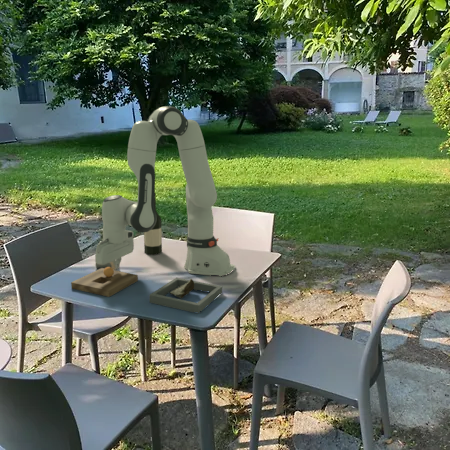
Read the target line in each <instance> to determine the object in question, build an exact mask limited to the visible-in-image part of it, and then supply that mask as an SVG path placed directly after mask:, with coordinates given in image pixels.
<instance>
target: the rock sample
mask: <svg viewBox="0 0 450 450" xmlns="http://www.w3.org/2000/svg"><path fill="white" fill-rule="evenodd" d="M188 280H189V282H187V283H186V284H185V285H182V286H180V287H177V288H175V289H174V290H172V291H171V292H169V293H168V294H170V295H171V296H175V297H176V298H177V299H181V300H183V299H184V297H186V296H187V295H189V294H190V293H191V292H192V291H194V290H193V289H194V284H195V283H194V281H195V280H194V279H192V278H191V279H188Z"/></svg>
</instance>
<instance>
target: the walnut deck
mask: <svg viewBox="0 0 450 450" xmlns="http://www.w3.org/2000/svg"><path fill="white" fill-rule="evenodd" d="M104 269H105V268H98V269H97V270H95V271H92V272H90V273H89V274H85V275H84V276H82V277H80V278H77V279H75V280H73V281H72V282H71V283H70V284H71V289H72V290H78V291H82V292H86V293H89V294H95V295H99V296H104V297H107V298H110V297H112V296H113V295H115V294H117V293H119V292H120V291H123V290H125V289H126V288H128V287H129V286H131V285H133V284H135V283H136V282H138V281H139V276H138V274H135V273H131V272H130V273H129V272H124V271H119V270H114V274H113V275H112V276H111V277H106V276H105V275H104Z"/></svg>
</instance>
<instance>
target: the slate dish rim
mask: <svg viewBox="0 0 450 450" xmlns="http://www.w3.org/2000/svg"><path fill="white" fill-rule="evenodd" d="M189 280H190V279H186V278H179V277H175V278H173V279H171V281H169V282H167V283H165V284H164V285H162V286H161V287H159V288H158V289H156V290H155V291H153V292H152V293H150V294H149V295H148V296H149V303H150V304H155V305H158V306H164V307H168V308H173V309H177V310H181V311H186V312H190V313H194V312H198V313H199V312H200V311H201V312H203V311H204V310H205V309H206V308H207V307H208V306H210V305H211V304H212V303H213V302H214V301H215V300H216V299H215V298H216V297H217V296H218V295H219V294H221V293H222V294H223V286H222V285H218V284H211V283H206V282H201V281H197V280H193V281H194V283H195V284H194V290H193V291H197V290H202V291H209V292H210V293H207V294H206V295H205V296H204V297H203V298H201V299H200V300H199V301H198V302H194V301H188V300H184V299H181V298H177V297H176V298H175V297H171V296H167V295H168V294H169V293H170V292H171V291H173V290H174V289H176V288H178V287H180V286H182V285H185V284H186V283H187V282H189ZM202 291H201V292H202ZM222 294H221V295H222ZM214 299H215V300H214ZM213 300H214V301H213ZM212 301H213V302H212ZM211 302H212V303H211ZM210 303H211V304H210ZM209 304H210V305H209ZM207 305H208V306H207ZM206 306H207V307H206ZM205 307H206V308H205ZM204 308H205V309H204ZM203 309H204V310H203ZM202 310H203V311H202ZM201 312H200V313H201ZM198 313H197V314H198ZM200 313H199V314H200Z"/></svg>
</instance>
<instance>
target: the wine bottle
mask: <svg viewBox="0 0 450 450" xmlns="http://www.w3.org/2000/svg"><path fill="white" fill-rule="evenodd" d="M156 197H157V196H156V193H155V195H154V208H155V212H156V215H157V221H156V224H155V226H154V227H153V228H152V229H151V230H150V231H148V232H144V233H143V234H144V235H143V241H144V243H143V244H144V246H143V247H144V249H143V250H144V254H146V255H147V256H148V255H149V256H156V255H160V254H162V253H163V248H162V247H163V245H162V244H163V238H162V236H163V235H162V218H161V215H159V213H158V211H157V205H156V204H157V202H156Z"/></svg>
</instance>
